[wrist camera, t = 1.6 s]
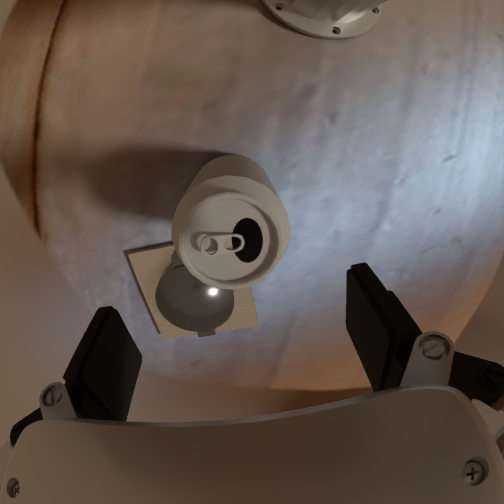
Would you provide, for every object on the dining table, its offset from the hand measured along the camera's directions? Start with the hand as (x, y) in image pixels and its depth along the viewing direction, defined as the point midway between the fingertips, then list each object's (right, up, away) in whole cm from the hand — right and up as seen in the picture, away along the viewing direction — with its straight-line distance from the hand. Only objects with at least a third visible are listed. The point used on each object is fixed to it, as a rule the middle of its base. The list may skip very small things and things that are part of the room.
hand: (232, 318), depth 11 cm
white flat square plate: (-5, -2, +21) cm, 22 cm away
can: (-1, +8, +16) cm, 18 cm away
